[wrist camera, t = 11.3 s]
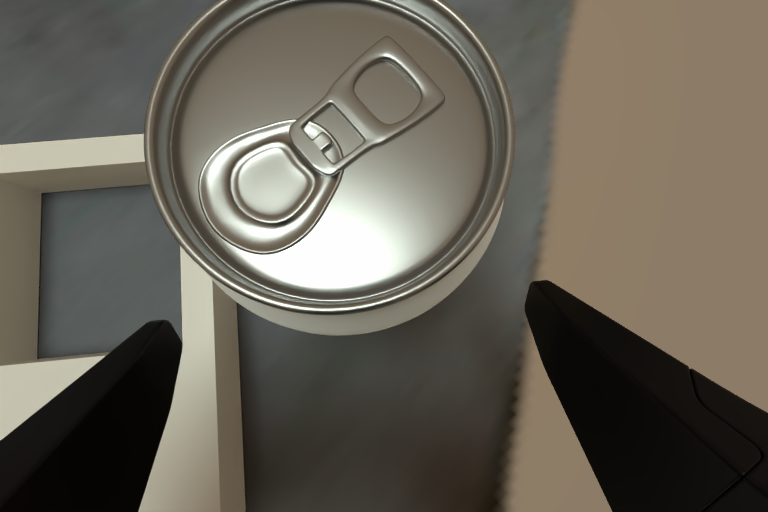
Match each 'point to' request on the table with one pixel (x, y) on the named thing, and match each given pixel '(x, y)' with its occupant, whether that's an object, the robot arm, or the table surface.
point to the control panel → (52, 375)
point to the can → (331, 156)
